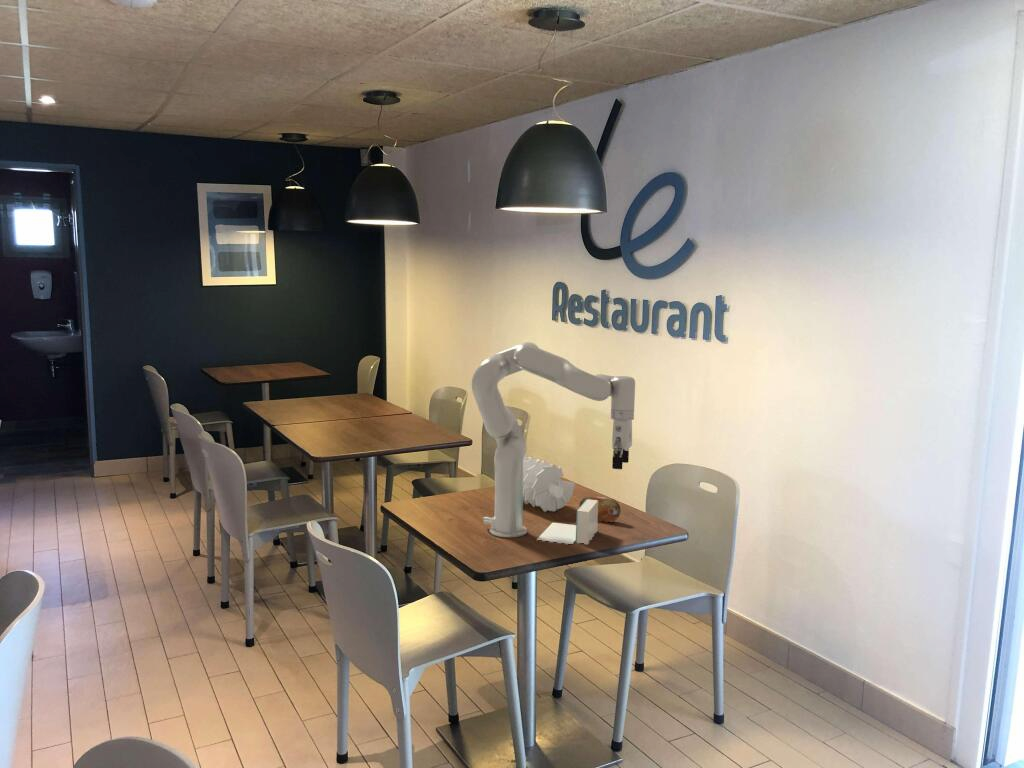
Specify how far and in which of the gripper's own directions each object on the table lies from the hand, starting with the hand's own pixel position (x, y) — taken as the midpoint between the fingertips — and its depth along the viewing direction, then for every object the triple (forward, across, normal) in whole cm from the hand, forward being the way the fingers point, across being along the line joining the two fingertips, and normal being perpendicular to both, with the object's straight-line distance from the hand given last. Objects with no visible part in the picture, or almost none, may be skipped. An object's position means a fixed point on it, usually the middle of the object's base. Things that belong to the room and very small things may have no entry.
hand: (620, 465), depth 266 cm
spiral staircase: (+25, +25, +36) cm, 51 cm away
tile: (+25, -3, +10) cm, 27 cm away
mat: (+25, -3, +18) cm, 31 cm away
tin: (+25, +17, +10) cm, 32 cm away
